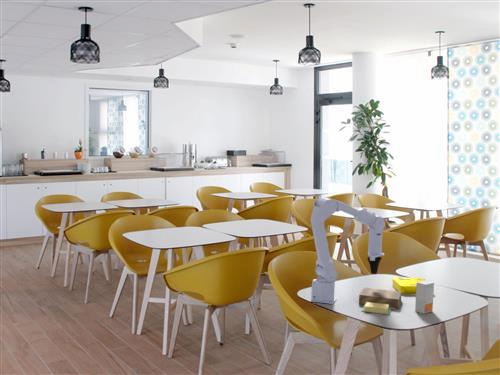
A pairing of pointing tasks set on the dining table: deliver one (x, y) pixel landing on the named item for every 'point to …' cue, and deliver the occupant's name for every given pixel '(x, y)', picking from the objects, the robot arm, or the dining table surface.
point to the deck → (380, 297)
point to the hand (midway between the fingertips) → (374, 273)
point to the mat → (380, 313)
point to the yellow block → (376, 307)
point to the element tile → (406, 285)
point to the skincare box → (424, 297)
